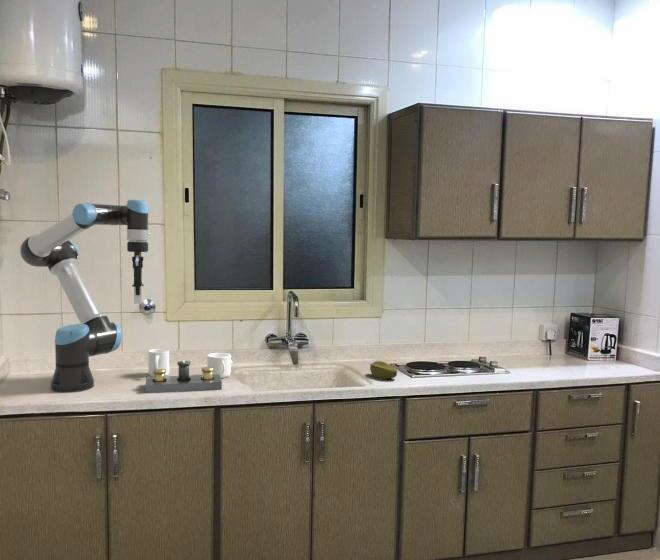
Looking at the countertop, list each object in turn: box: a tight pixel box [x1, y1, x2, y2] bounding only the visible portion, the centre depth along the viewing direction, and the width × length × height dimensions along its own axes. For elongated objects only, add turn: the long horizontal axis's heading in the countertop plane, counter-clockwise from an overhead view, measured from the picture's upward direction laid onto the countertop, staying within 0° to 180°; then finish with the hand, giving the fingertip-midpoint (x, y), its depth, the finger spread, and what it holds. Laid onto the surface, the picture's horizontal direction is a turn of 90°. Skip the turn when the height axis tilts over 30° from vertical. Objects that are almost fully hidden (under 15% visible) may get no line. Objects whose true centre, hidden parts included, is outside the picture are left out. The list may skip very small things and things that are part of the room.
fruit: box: [369, 360, 398, 380], centre depth 254 cm, size 11×12×7 cm
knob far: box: [201, 366, 214, 380], centre depth 233 cm, size 5×5×7 cm
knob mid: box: [177, 359, 191, 381], centre depth 231 cm, size 5×5×7 cm
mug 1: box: [148, 348, 170, 377], centre depth 247 cm, size 12×8×10 cm
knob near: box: [153, 369, 166, 382], centre depth 228 cm, size 5×5×7 cm
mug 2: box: [206, 352, 234, 379], centre depth 248 cm, size 12×10×9 cm
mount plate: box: [144, 374, 223, 394], centre depth 231 cm, size 28×12×3 cm, turn 105°
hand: (137, 303), depth 227 cm, fingers closed
